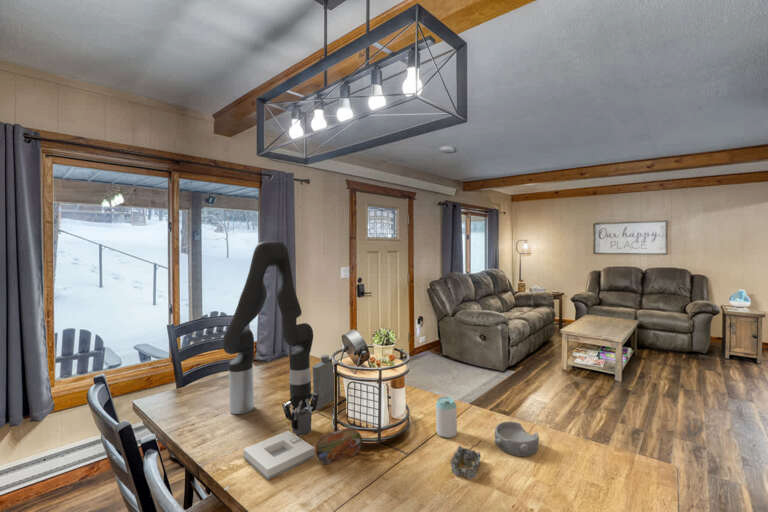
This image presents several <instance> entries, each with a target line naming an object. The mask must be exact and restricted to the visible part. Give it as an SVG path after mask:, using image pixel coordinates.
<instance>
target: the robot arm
mask: <svg viewBox="0 0 768 512" xmlns="http://www.w3.org/2000/svg"><path fill="white" fill-rule="evenodd" d="M269 267H276V269H277V272H278V277H279V280H278V286H277V293H276V300H277V305H278V309H279V311H280V314H281V317H282V334H283V339H284V342H286V344H287V345H288V346H289V347H291V348H292V347H295V349H294V350H292V351H291V352H290V354H289V375H288V376H289V377H288V379H289V396H290V397H289V401H287V402H283V403H282V405H281V406H282V409H283V413H284V416H285V418H286V419H287V420H288V421H290V423H291V424H290V425H291V429H292V428H293V429H294V430H297V429H298V426H297V416H298V414H299V412H300V409H302V408H305V410H307V411H309V412H311V415H312V414H313V412H316V411H317V410H316V407H317V401H318V394H316V393H313V392H312V375H311V373H312V372H311V365H310V364H311V363H310V362H311V360H310V354H311V350H312V345H313V342H314V330H313V327H312V326H311V325H310V324H309V323H306V322H303V323H299V324H297V319H298V318H299V317H301V316H302V314H303V313H302V309H301V305H300V303H299V298H298V296H297V293H296V290H295V284H294V280H293V274H292V273H293V272H292V267H291V261H290V255H289V252H288V249H287V246H286V244H285V243H284V242H283V241H280V240H279V241H276V240H274V241H271V240H270V241H261V242H259V243H258V244H257V245H256V246H255V248H254V251H253V254H252V259H251V263H250V266H249V271H248V274H247V277H246V280H245V284H244V286H243V289H242V291H241V295H240V297H239V300H238V303H237V306H236V309H235V311H234V314H233V317H232V319H231V321H230V322H229V325H228V326H227V329H226V331H225V333H224V335H223V339H222V348H223V351H224V353H226V354H228V355H235V354H237V355H236V356H234V358H232V360H231V361H229V363H228V387H229V390H228V391H229V411H230V413H231V414H232V415H243V414H247V413H250V412H251V411H253V410H254V408H255V402H254V401H255V397H254V393H255V392H254V372H253V370H254V368H253V367H254V366H253V363H254V360H255V337H254V334H253V331H252V330H251V329H250V328H247V326H249V324H251V323H252V322H253V321H254V319H256V318H257V316H258V315H259V314H260V313H261V312H262V310H263V307H264V305H265V303H266V300H267V295H268V293H267V292H268V291H267V288H266V285H265V282H264V277H265V274H266V273H267V269H268V268H269ZM312 420H313V419H312V418H311V422H312ZM293 429H292V430H293Z"/></svg>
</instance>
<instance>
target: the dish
mask: <svg viewBox="0 0 768 512" xmlns="http://www.w3.org/2000/svg"><path fill="white" fill-rule="evenodd" d="M539 443H540V438H539V433H538V432H534V434H532V435H531V434H529V433H528V432H527V431H526V430H525V428H524V427H523V426H522V424H521V422H516V421H503V422H500V423H498V424H497V425H496V427H495V429H494V444H495V445H496V446H497V447H498V448H499V449H500V450H501V451H502V452H505V453H507V454H509V455H512V456H517V457H529V456H532V455H534V454H536V453H537V451H538V449H539V445H540V444H539Z"/></svg>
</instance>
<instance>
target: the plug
mask: <svg viewBox="0 0 768 512" xmlns="http://www.w3.org/2000/svg"><path fill="white" fill-rule="evenodd" d="M311 419H312V414H311V412H309V411H307V410H305V408H302V409H300V412H299V414H298V416H297V426H298V429H297V430H294V429H293V428H292V427H291V429H292V433H293V434H295V433H296V434H295V435H296V436H298V435H299V436H298V437H301V436H304V435H306V433H307V434H308V432H309V433H311V432H312V421H311ZM310 431H311V432H310Z"/></svg>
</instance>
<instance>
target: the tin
mask: <svg viewBox="0 0 768 512" xmlns="http://www.w3.org/2000/svg"><path fill="white" fill-rule="evenodd" d="M362 443H363V439H362V435H361V433H360V432H359V431H358V430H356V429H354V428H352V427H347V428H343V429H340V430H336V431H333V432H332V431H331V432H328V433H326V434H323V435H322V436H320V437H319V438H318V440H317V442H316V443H315V446H314V450H315V457H316V458H317V459H318V461H319V463H321V464H324V465H330V464H332V463H336V462H339V461H342V460H345V459H348V458H349V459H350V458H352V457H354V456H355V455H356V454H357V453H358V452H359V451H360V450H361V447H362Z"/></svg>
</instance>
